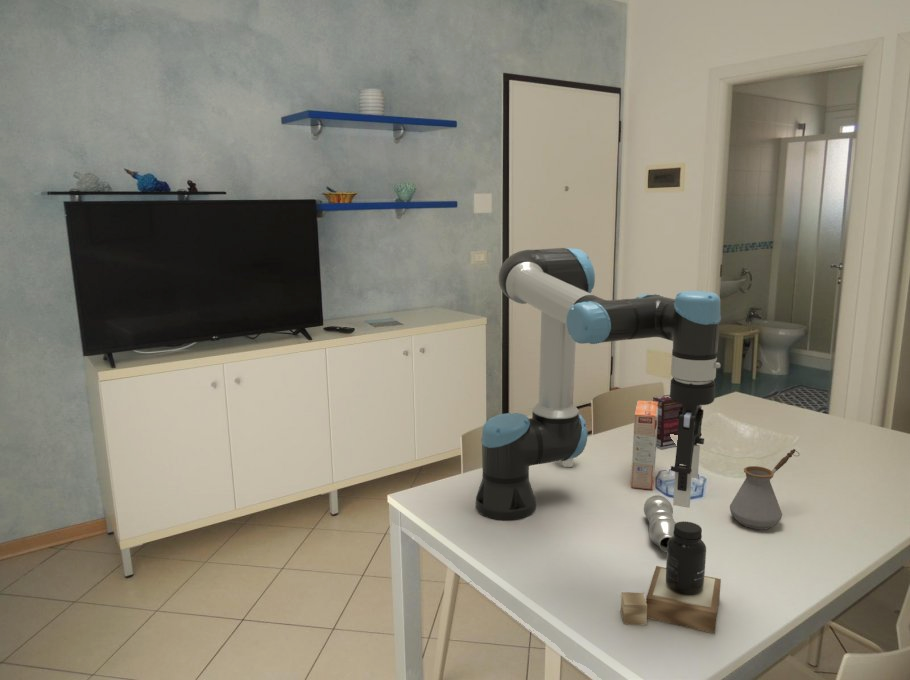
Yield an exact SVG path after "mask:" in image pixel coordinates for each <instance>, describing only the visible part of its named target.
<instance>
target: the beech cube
mask: <svg viewBox="0 0 910 680" xmlns="http://www.w3.org/2000/svg"><path fill="white" fill-rule="evenodd" d="M620 596H621V597H620V598H621V599H620V614H621V617H622V621H623V625H637V626H638V625H639V626H647V620H648V619H647V603H646V598H645V597H646V596H645V594H644V592H627V591H625V592H624V591H621V595H620Z"/></svg>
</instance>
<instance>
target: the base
mask: <svg viewBox="0 0 910 680" xmlns="http://www.w3.org/2000/svg"><path fill="white" fill-rule="evenodd" d="M651 578H652V579H651V581H650V584H649V588H648V590H647V591H648V592H647V594H646V596H645V597H646V598H645V600H646V603H647V618H648V619H651V620H654V621H655V620H656V621H660V622H663V623H667V624H673V625H676V626H681V627H685V628H688V629H689V628H690V629H694V630H697V631H702V632H706V633H710V634H716V627H717V621H718V614H719V613H718V612H719V606H720V605H719V604H720V595H721V582H722V579H721V578H717V577H711V576H707V575H704V587H703V590H702V591H701V592H700V593H698V594H695V595H684V594H679V593H677V592H674V591H673V590H671V589H670V588H669V587H668V586H667V584H666V567H663V566H659V565H656V566H655V569H654V572H653V575H652V577H651Z"/></svg>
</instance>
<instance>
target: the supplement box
mask: <svg viewBox="0 0 910 680" xmlns="http://www.w3.org/2000/svg"><path fill="white" fill-rule="evenodd" d="M652 401H655V402H658V426H657V444H656V449H659V450H665V449H669V448H674V447H677V446H676V444H675V443H674V441H673V440H672V439H671V437H670V434H674V435H678V424H679V420H678V413H679V411H680V407H683V404H681V403H677V402H675V401H673V400H672V399H671V398H670V394H666V395H662V396H661V395H660V396H654V397H652Z"/></svg>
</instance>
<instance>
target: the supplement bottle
mask: <svg viewBox="0 0 910 680" xmlns="http://www.w3.org/2000/svg"><path fill="white" fill-rule="evenodd" d="M675 523H676V524H675V526H674V532H673V534H674V536H672V537H671V538H670V539H669V541H668V546H667V552H666V565H665V566H666V567H665V568H666V584H667V586H668V587H669V588H670V589H671V590H673V591H674V592H677V593H679V594H684V595H695V594H698V593H700V592H701V591H702V590H703V587H704V576H706V575H705V574H706V573H705V572H706V560H707V558H706V557H707V546H706V544H705V542H704V541H703V540H702V539H703V537H702V531H703V530H702V527H701V526H700V525H699V524H697V523H694V522H691V521H678V522H675Z"/></svg>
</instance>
